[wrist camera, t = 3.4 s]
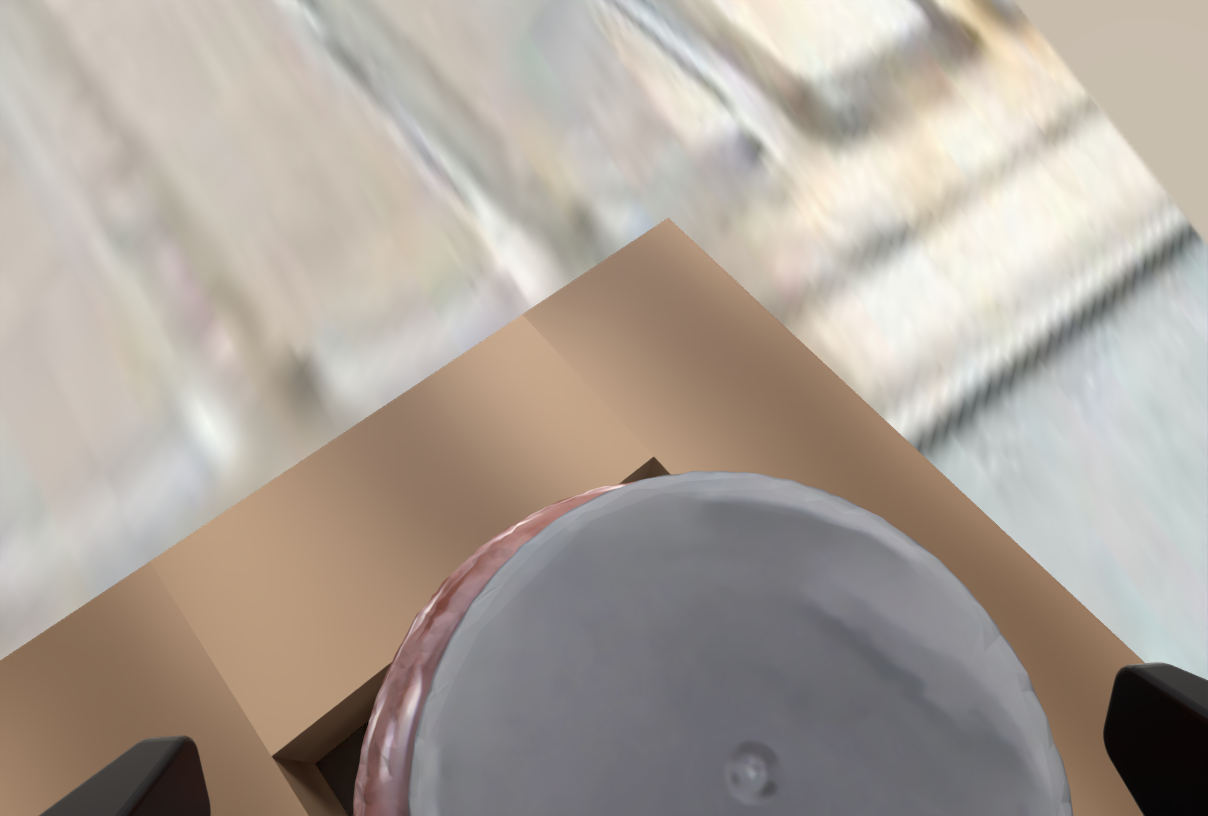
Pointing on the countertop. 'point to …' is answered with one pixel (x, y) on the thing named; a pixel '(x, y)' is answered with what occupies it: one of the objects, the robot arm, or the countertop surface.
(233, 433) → the countertop surface
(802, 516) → the supplement bottle
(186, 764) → the robot arm
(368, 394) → the countertop surface
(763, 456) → the square wooden frame
